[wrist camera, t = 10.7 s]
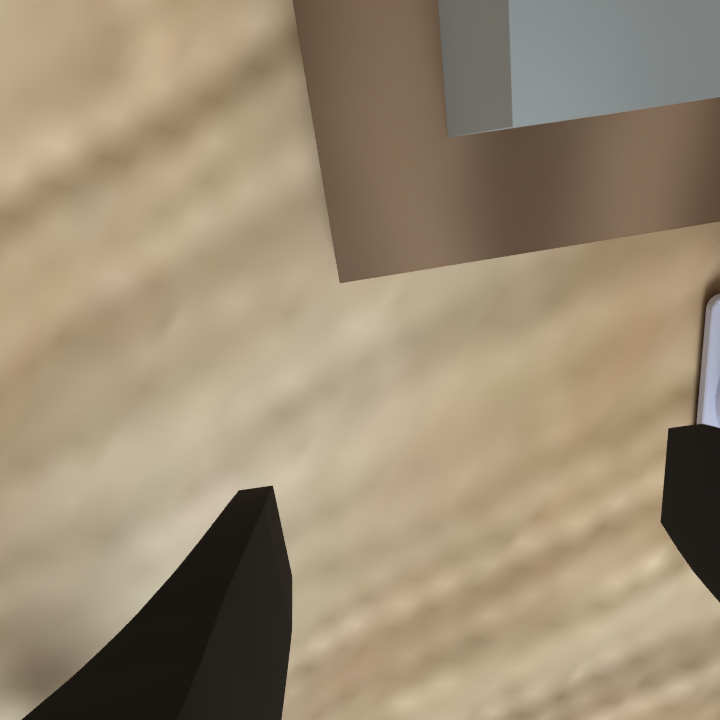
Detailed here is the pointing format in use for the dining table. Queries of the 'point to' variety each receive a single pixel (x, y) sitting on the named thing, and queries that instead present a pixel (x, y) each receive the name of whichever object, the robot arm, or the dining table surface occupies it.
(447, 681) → the dining table surface
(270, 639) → the robot arm
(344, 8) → the walnut block
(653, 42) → the grey block
